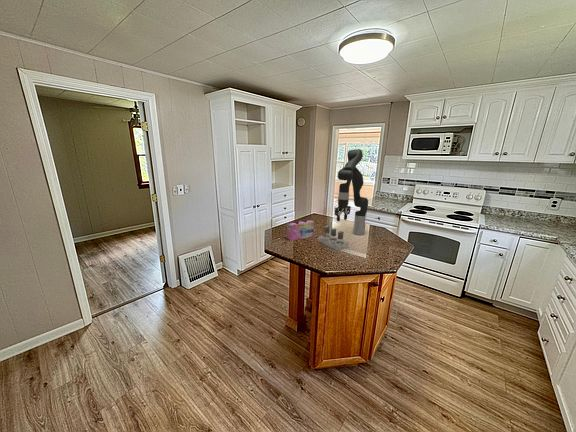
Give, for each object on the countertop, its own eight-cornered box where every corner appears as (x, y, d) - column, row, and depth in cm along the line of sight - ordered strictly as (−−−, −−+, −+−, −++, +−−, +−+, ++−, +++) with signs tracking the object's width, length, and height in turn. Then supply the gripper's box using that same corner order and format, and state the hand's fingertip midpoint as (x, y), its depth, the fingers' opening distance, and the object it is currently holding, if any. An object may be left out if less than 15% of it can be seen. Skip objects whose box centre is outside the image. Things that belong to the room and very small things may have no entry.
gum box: (310, 233, 208) (311, 219, 204) (315, 236, 201) (316, 221, 197) (286, 237, 197) (286, 222, 194) (290, 240, 191) (291, 225, 187)
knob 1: (327, 231, 192) (327, 225, 191) (330, 232, 189) (330, 226, 187) (323, 231, 190) (323, 225, 189) (326, 233, 187) (326, 227, 185)
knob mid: (333, 234, 185) (334, 227, 184) (337, 235, 182) (337, 229, 181) (329, 234, 183) (330, 228, 182) (333, 236, 180) (333, 230, 179)
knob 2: (340, 237, 179) (341, 230, 177) (344, 238, 175) (344, 232, 174) (336, 238, 177) (337, 231, 175) (340, 239, 173) (340, 233, 172)
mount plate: (329, 238, 197) (329, 233, 196) (348, 247, 178) (348, 242, 177) (318, 240, 191) (318, 236, 190) (336, 250, 173) (336, 245, 172)
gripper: (347, 196, 175) (345, 218, 179) (332, 198, 168) (330, 220, 172) (354, 198, 169) (352, 220, 173) (339, 199, 162) (337, 223, 166)
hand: (341, 220), depth 172 cm, fingers open, 6 cm apart
